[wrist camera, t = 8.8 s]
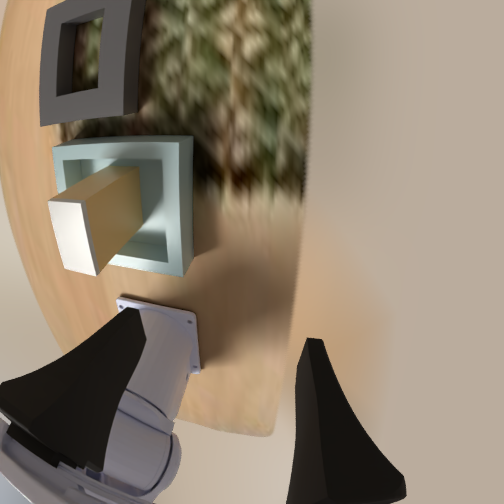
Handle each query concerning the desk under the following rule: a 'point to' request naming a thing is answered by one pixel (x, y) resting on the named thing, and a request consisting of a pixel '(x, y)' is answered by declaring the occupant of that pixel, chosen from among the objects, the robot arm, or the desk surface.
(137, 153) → the parts tray
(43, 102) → the dark gray rectangular frame
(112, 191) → the white and tan block
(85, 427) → the robot arm
